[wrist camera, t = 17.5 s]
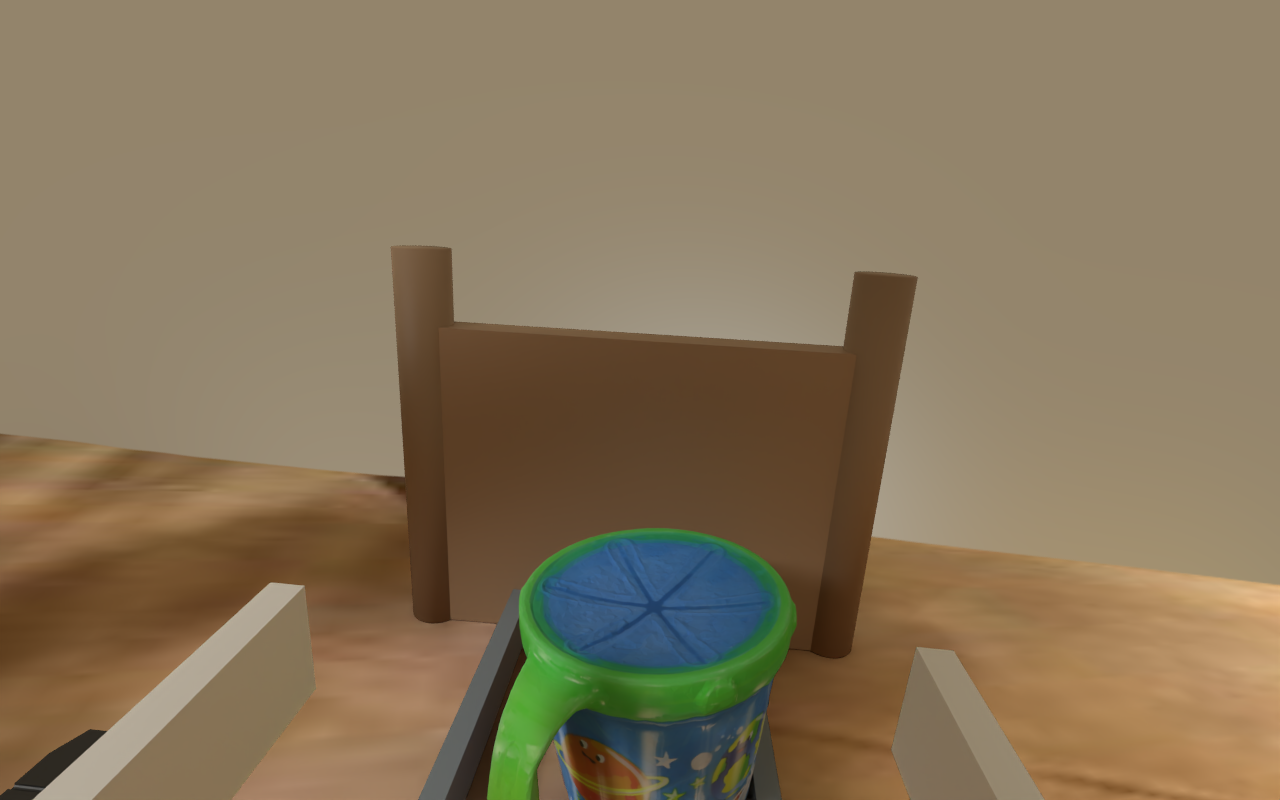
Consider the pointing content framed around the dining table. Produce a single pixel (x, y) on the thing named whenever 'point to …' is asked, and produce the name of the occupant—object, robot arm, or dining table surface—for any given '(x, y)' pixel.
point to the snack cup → (644, 668)
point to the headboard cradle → (633, 464)
